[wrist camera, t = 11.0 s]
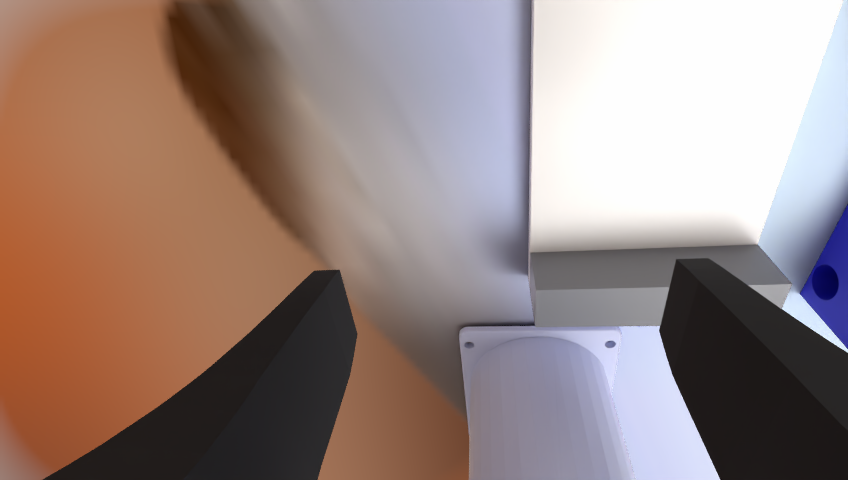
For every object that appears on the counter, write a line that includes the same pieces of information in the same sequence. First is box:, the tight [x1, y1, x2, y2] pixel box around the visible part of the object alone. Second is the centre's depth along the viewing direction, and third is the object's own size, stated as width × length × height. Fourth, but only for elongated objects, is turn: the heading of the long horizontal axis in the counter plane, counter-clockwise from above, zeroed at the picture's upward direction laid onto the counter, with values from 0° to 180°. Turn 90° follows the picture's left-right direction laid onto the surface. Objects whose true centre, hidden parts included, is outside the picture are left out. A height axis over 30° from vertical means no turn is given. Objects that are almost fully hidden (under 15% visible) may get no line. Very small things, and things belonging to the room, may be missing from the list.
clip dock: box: [528, 0, 843, 327], centre depth 15 cm, size 18×9×3 cm, turn 7°
